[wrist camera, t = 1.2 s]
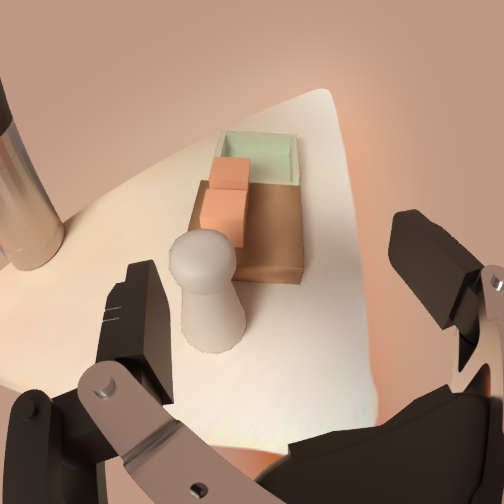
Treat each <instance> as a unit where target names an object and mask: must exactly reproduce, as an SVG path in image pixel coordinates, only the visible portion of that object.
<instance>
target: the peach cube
mask: <svg viewBox="0 0 504 504" xmlns="http://www.w3.org/2000/svg"><path fill="white" fill-rule="evenodd" d="M209 186H210V189H222V190H243V191H247V199H246V209H247V206H248V197H249V187H250V158H232V157H215V158H214V161H213V165H212V169H211V173H210V177H209Z"/></svg>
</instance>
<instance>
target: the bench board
mask: <svg viewBox="0 0 504 504" xmlns="http://www.w3.org/2000/svg"><path fill="white" fill-rule="evenodd" d="M206 189H210V186H209V181H204V180H201V182H200V186H199V189H198V193H197V197H196V200H195V204H194V208H193V212H192V216H191V219H190V223H189V227H188V231H187V232H189V231H192V230H196V229H199V228H201V225H200V214H201V209H202V205H203V201H204V197H205V193H206ZM234 250H235V255H236V262H237V263H236V270H235V272H234V275H233V277H232V279H231V280H236V281H251V282H267V283H284V284H300V281H301V277H302V273H303V270H304V257H303V235H302V216H301V199H300V186H294V185H281V184H266V183H250V187H249V197H248V206H247V209H246V226H245V235H244V245H243V248H240V247H234Z"/></svg>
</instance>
